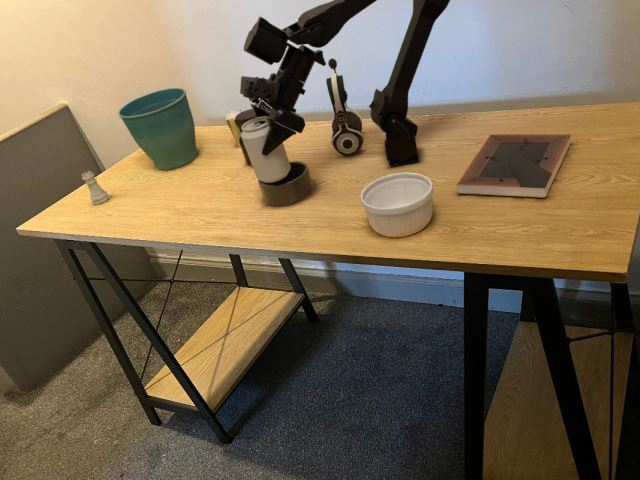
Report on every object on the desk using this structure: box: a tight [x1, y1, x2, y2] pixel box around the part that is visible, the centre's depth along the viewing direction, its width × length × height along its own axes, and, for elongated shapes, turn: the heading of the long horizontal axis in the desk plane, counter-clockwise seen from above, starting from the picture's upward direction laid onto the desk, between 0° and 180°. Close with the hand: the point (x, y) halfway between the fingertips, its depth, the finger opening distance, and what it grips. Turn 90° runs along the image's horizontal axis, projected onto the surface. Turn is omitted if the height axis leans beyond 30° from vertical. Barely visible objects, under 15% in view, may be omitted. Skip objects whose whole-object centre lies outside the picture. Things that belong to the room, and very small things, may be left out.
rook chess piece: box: [81, 170, 110, 205], centre depth 147 cm, size 4×4×8 cm
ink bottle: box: [235, 108, 255, 167], centre depth 144 cm, size 10×9×12 cm
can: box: [241, 116, 291, 183], centre depth 118 cm, size 8×8×12 cm
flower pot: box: [117, 87, 199, 171], centre depth 155 cm, size 18×18×17 cm
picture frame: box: [456, 133, 572, 199], centre depth 114 cm, size 16×2×22 cm
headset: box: [325, 57, 365, 157], centre depth 135 cm, size 17×8×20 cm, turn 1°
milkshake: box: [224, 110, 242, 147], centre depth 156 cm, size 4×5×10 cm
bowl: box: [257, 160, 315, 208], centre depth 127 cm, size 11×11×5 cm
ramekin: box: [360, 171, 434, 238], centre depth 106 cm, size 13×13×7 cm
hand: (258, 149), depth 117 cm, fingers closed on can, 7 cm apart
